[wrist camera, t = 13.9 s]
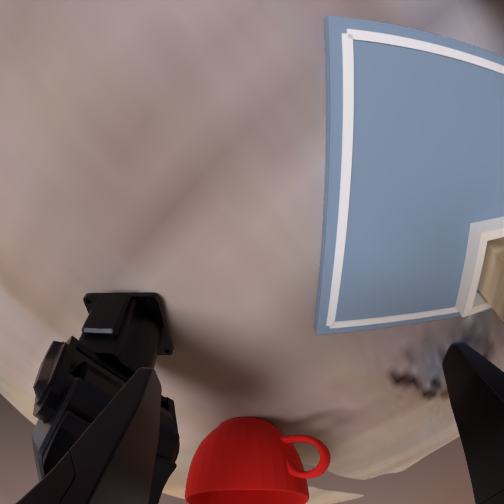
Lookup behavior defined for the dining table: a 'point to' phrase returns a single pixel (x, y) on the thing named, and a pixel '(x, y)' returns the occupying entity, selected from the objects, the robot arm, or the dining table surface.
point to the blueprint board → (404, 171)
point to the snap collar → (476, 265)
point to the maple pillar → (493, 276)
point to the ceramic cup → (251, 465)
